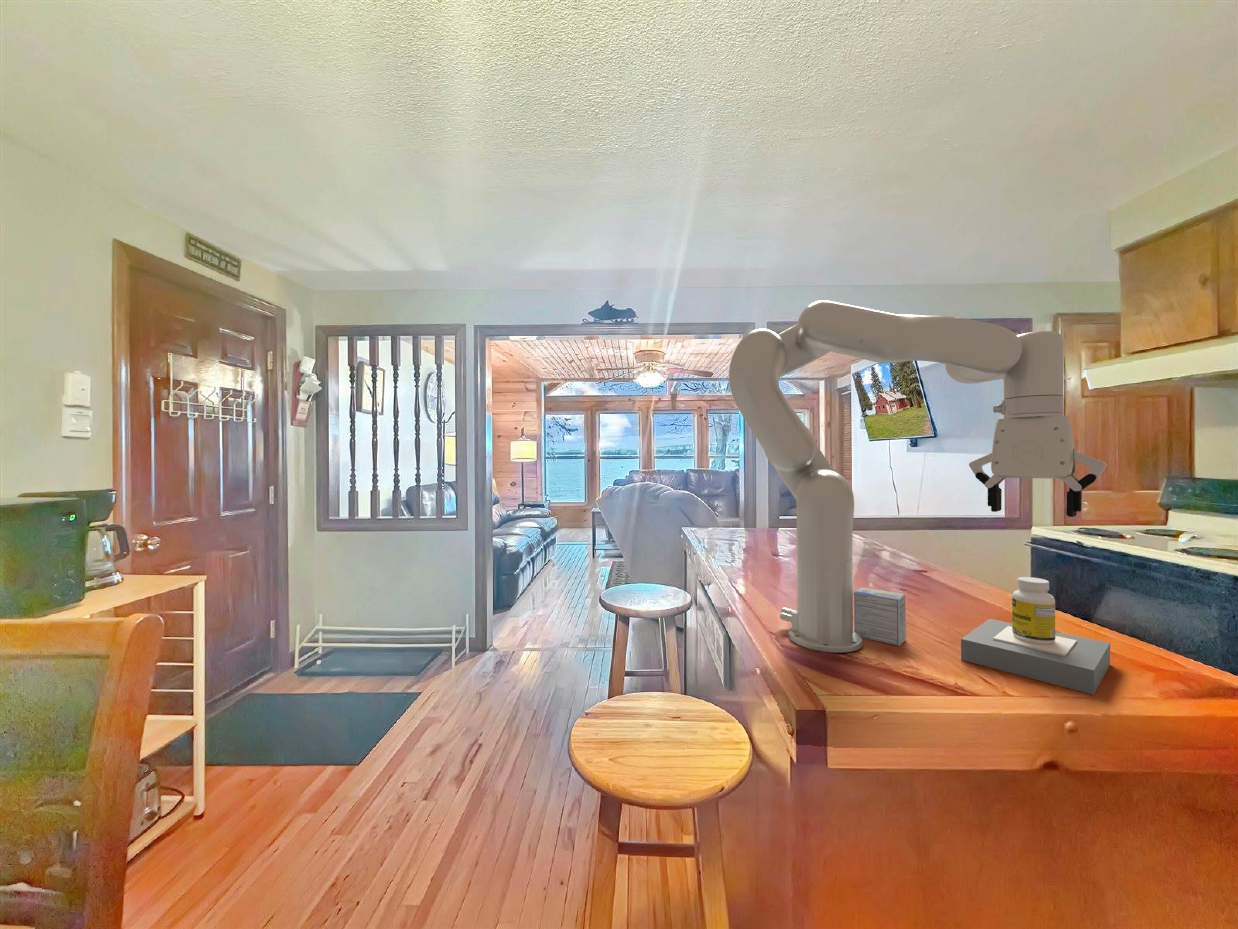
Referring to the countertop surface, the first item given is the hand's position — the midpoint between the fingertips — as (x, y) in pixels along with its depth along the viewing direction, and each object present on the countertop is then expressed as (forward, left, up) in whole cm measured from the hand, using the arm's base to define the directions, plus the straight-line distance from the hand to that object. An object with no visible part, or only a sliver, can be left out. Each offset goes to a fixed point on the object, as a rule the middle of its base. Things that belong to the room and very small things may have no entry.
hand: (1032, 513), depth 80 cm
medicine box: (-21, -8, -25) cm, 33 cm away
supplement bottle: (0, 0, -21) cm, 21 cm away
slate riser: (0, 0, -24) cm, 24 cm away
